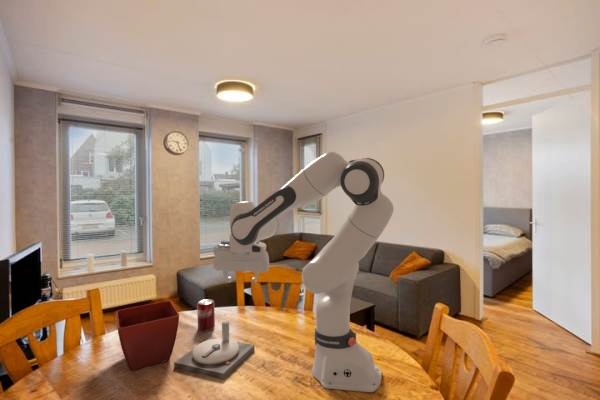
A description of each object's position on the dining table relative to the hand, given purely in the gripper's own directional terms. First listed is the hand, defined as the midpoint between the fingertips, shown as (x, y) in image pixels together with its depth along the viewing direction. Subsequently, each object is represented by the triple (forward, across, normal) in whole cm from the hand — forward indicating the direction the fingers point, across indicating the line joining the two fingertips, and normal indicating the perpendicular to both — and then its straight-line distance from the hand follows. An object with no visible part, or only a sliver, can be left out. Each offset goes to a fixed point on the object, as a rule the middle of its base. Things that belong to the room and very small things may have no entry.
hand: (241, 282), depth 114 cm
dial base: (+27, -8, -4) cm, 29 cm away
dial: (+25, -8, -4) cm, 26 cm away
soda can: (+29, -20, +21) cm, 41 cm away
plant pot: (+28, -33, -4) cm, 44 cm away
